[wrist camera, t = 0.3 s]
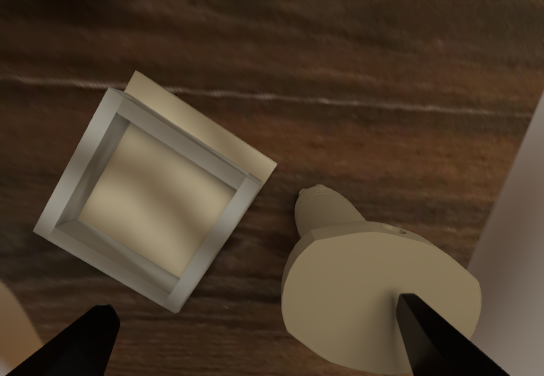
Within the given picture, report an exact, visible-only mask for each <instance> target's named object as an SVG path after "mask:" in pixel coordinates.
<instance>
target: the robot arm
mask: <svg viewBox="0 0 544 376" xmlns="http://www.w3.org/2000/svg"><path fill="white" fill-rule="evenodd" d="M396 319H397V322H398V326H399V329H400V332H401V336H402V339H403V343H404V346H405V349H406V353H407V356H408V359H409V363H410V366H411V369H412V372H413V375H414V376H510V375H509V374H507V372H505V371H504V370H503V369H502V368H501V367H500V366H498V365H497V364H496V363H495V362H494V361H493V360H492V359H490V358H489V357H488V356H487V355H486V354H485V353H483V352H482V351H481V350H480V349H479V348H478V347H477V346H475V345H474V344H473V343H472V342H471V341H470V340H468V339H467V338H466V337H465V336H464V335H463V334H461V333H460V332H459V331H458V330H457V329H456V328H455V327H453V326H452V325H451V324H450V323H449V322H448V321H446V320H445V319H444V318H443V317H442V316H441V315H440V314H438V313H437V312H436V311H435V310H434V309H433V308H431V307H430V306H429V305H428V304H427V303H426V302H424V301H423V300H422V299H421V298H420V297H419V296H418V295H416V294H414V293H401V294H400V295H399V298H398V303H397V307H396ZM119 328H120V319H119V317H118V315H117V313H116V312H115V310H114V308H113V306H112V305H111V304H98V305H96V306H94V307H93V308H91V309H90V310H89V311H88V312H86V313H85V314H84V315H82V316H81V317H80V318H79V319H77V320H76V321H75V322H73V323H72V324H71V325H70V326H68V327H67V328H66V329H64V330H63V331H62V332H61V333H59V334H58V335H57V336H56V337H54V338H53V339H52V340H50V341H49V342H48V343H47V344H45V345H44V346H43V347H41V348H40V349H39V350H38V351H36V352H35V353H34V354H32V355H31V356H30V357H29V358H27V359H26V360H25V361H23V362H22V363H21V364H20V365H18V366H17V367H16V368H15V369H13V370H12V371H11V372H10V373H8V374H7V375H6V376H103V375H104V372H105V370H106V367H107V364H108V361H109V358H110V355H111V352H112V349H113V346H114V343H115V340H116V337H117V334H118V331H119Z"/></svg>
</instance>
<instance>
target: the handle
mask: <svg viewBox="0 0 544 376" xmlns="http://www.w3.org/2000/svg"><path fill="white" fill-rule="evenodd" d="M295 222H296V226H297V229H298V233H299V235H300V237H301V239H300V240H299V241H298V242H297V243H296V245H295V246H294V248H293V250H292V252H291V253H290V255H289V257H288V260H287V263H286V265H285V268H284V273H283V278H282V284H281V306H282V315H283V319H284V323H285V326H286V328H287V331H288V332H289V333H290V334H291V335H293V336H294V337H295V338H297V339H298V340H299V341H300V342H302V343H303V344H304V345H306V346H307V347H308V348H310V349H311V350H312V351H314V352H315V353H316V354H318V355H319V356H321V357H323V358H325V359H326V360H328V361H330V362H332V363H335V364H338V365H341V366H344V367H349V368H353V369H357V370H362V371H366V372H370V373H376V374H383V375H397V374H407V373H413V372H412V369H411V366H410V363H409V359H408V356H407V353H406V349H405V346H404V343H403V339H402V336H401V332H400V329H399V326H398V322H397V319H396V307H397V303H398V298H399V295H400V294H401V293H414V294H416V295H418V296H419V297H420V298H421V299H422V300H423V301H424V302H426V303H427V304H428V305H429V306H430V307H431V308H433V309H434V310H435V311H436V312H437V313H438V314H440V315H441V316H442V317H443V318H444V319H445V320H446V321H448V322H449V323H450V324H451V325H452V326H453V327H455V328H456V329H457V330H458V331H459V332H460V333H461V334H463V335H464V336H465V337H466V338H467V339H468V340H470V338H471V335H472V334H473V332H474V330H475V328H476V325H477V322H478V319H479V316H480V310H481V304H482V301H481V290H480V286H479V282H478V281H477V280H476V279H475V278H474V277H473V276H472V275H471V274H470V273H469V272H467V271H466V270H465V269H464V268H463V267H462V266H461V265H460V264H458V263H457V262H456V261H455V260H454V259H452V258H451V257H450V256H449V255H447V254H446V253H444V252H443V251H441V250H440V249H438V248H437V247H436V246H434V245H433V244H432V243H430V242H429V241H427V240H426V239H424V238H422V237H421V236H419V235H417V234H415V233H412V232H409V231H406V230H403V229H400V228H397V227H394V226H391V225H388V224H385V223H378V222H368V221H366V220H365V219H364V218H363V217H362V216H361V215H360V213H359V212H358V211H357V210H356V209H355V207H354V206H353V205H352V204H351V203H350V202H349V201H348V200H347V199H346V198H344V197H343V196H342V195H340V194H339V193H337V192H335V191H334V190H332V189H329V188H327V187H325V186H323V185H320V184H316V185H315V186H313V187H310V188H308V189H301V190H300V192H299V197H298V199H297V202H296V205H295Z"/></svg>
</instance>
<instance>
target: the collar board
mask: <svg viewBox="0 0 544 376" xmlns="http://www.w3.org/2000/svg"><path fill="white" fill-rule="evenodd" d="M276 165H277V163H276V162H274V161H273V160H271V159H270V158H268V157H267V156H265V155H264V154H262V153H261V152H259V151H258V150H256V149H255V148H253V147H252V146H250V145H249V144H247V143H246V142H244V141H243V140H241V139H240V138H238V137H237V136H235V135H234V134H232V133H231V132H229V131H228V130H226V129H225V128H223V127H222V126H220V125H219V124H217V123H216V122H214V121H213V120H211V119H210V118H208V117H207V116H205V115H204V114H202V113H201V112H199V111H198V110H196V109H195V108H193V107H192V106H190V105H189V104H187V103H186V102H184V101H183V100H181V99H180V98H178V97H177V96H175V95H174V94H172V93H170V92H169V91H167V90H166V89H164V88H163V87H161V86H160V85H158V84H157V83H155V82H154V81H152V80H151V79H149V78H148V77H146V76H145V75H143V74H142V73H140V72H138V71H135V73H134V75H133V77H132V78H131V80H130V82H129V84H128V86H127V88H126V90H125V91H124V92H123V91H119V90H116V89H113V88H110V87H109V88H108V90H107V92H106V94H105V95H104V97H103V99H102V101H101V103H100V105H99V107H98V109H97V111H96V112H95V114H94V116H93V118H92V120H91V122H90V124H89V126H88V128H87V130H86V131H85V133H84V135H83V137H82V139H81V141H80V143H79V145H78V147H77V149H76V150H75V152H74V154H73V156H72V158H71V160H70V162H69V164H68V166H67V168H66V169H65V171H64V173H63V175H62V177H61V179H60V181H59V183H58V185H57V186H56V188H55V190H54V192H53V194H52V196H51V198H50V200H49V202H48V204H47V205H46V207H45V209H44V211H43V213H42V215H41V217H40V219H39V221H38V223H37V224H36V226H35V228H34V230H33V232H35V233H37V234H39V235H40V236H42V237H44V238H46V239H47V240H49V241H51V242H52V243H54V244H56V245H58V246H59V247H61V248H63V249H64V250H66V251H68V252H70V253H71V254H73V255H75V256H77V257H78V258H80V259H82V260H83V261H85V262H87V263H89V264H90V265H92V266H94V267H96V268H97V269H99V270H101V271H102V272H104V273H106V274H108V275H109V276H111V277H113V278H115V279H116V280H118V281H120V282H121V283H123V284H125V285H127V286H128V287H130V288H132V289H133V290H135V291H137V292H139V293H140V294H142V295H144V296H146V297H147V298H149V299H151V300H152V301H154V302H156V303H158V304H159V305H161V306H163V307H165V308H166V309H168V310H170V311H171V312H173V313H175V314H176V312H179V311H180V309H181V308H182V306H183V305H184V303H185V302H186V300H187V299H188V297H189V296H190V294H191V293H192V291H193V290H194V288H195V287H196V285H197V284H198V282H199V281H200V279H201V278H202V276H203V275H204V273H205V272H206V270H207V269H208V267H209V266H210V264H211V263H212V261H213V260H214V258H215V257H216V255H217V254H218V252H219V251H220V249H221V248H222V246H223V245H224V243H225V242H226V240H227V239H228V237H229V236H230V234H231V233H232V231H233V230H234V228H235V227H236V225H237V224H238V222H239V221H240V219H241V218H242V216H243V215H244V213H245V212H246V210H247V209H248V207H249V206H250V204H251V203H252V201H253V200H254V198H255V197H256V195H257V194H258V192H259V191H260V189H261V188H262V186H263V185H264V183H265V182H266V180H267V179H268V177H269V176H270V174H271V173H272V171H273V170H274V168H275V167H276Z"/></svg>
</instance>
